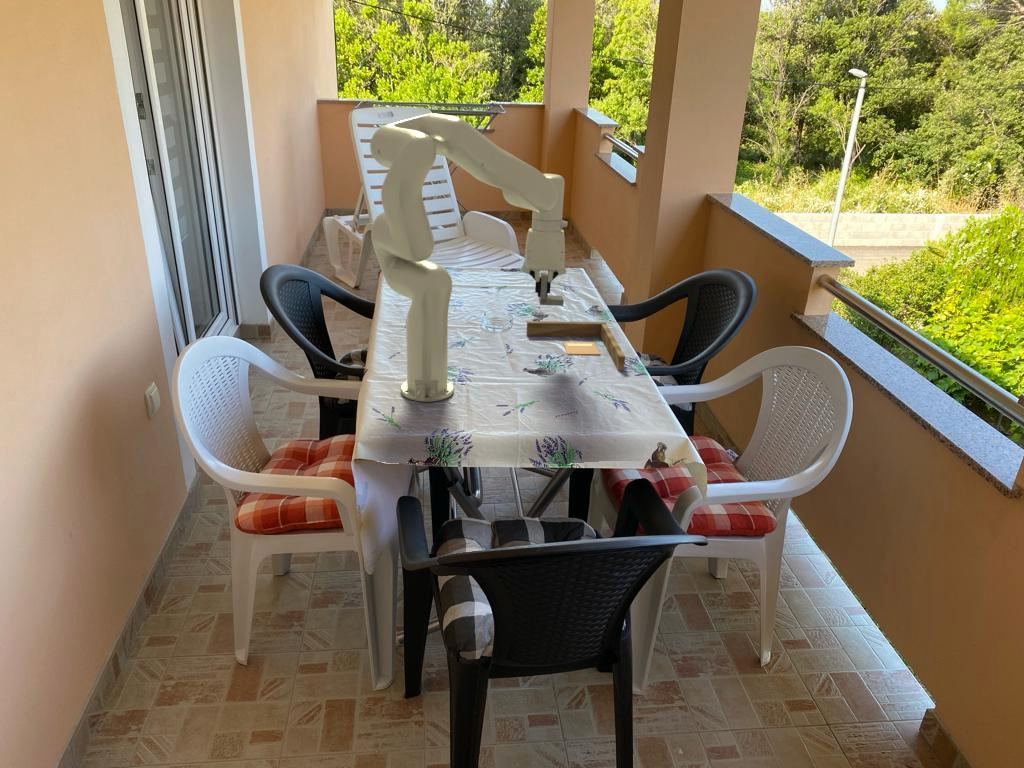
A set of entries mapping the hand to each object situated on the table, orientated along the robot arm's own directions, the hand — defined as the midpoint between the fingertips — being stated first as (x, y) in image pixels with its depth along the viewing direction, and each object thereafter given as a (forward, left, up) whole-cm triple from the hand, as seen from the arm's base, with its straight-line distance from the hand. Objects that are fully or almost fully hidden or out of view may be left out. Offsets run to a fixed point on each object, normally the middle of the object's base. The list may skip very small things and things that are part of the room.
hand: (542, 295), depth 194 cm
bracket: (-1, -2, -2) cm, 3 cm away
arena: (+4, -10, -17) cm, 20 cm away
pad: (+6, -13, -17) cm, 22 cm away
